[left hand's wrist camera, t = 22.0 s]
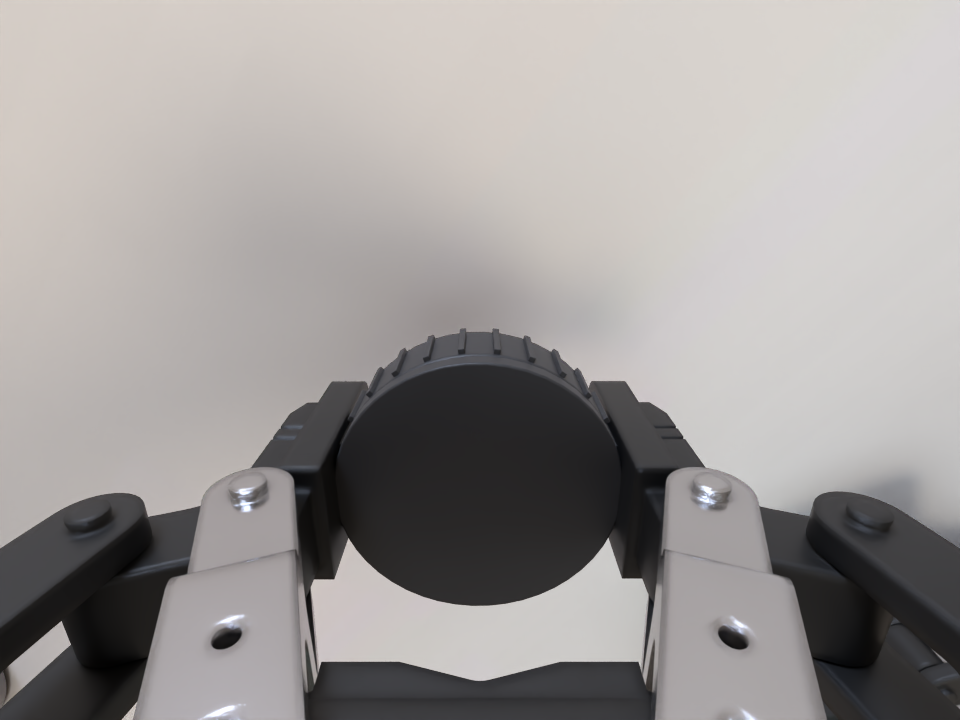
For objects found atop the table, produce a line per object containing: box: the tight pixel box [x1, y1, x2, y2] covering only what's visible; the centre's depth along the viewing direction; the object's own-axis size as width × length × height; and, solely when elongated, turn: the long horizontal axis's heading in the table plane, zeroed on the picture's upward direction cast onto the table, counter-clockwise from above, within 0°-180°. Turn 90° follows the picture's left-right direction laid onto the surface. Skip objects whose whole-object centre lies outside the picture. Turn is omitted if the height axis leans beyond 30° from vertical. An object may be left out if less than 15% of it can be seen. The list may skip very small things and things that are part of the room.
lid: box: [335, 329, 622, 606], centre depth 10 cm, size 5×5×2 cm
